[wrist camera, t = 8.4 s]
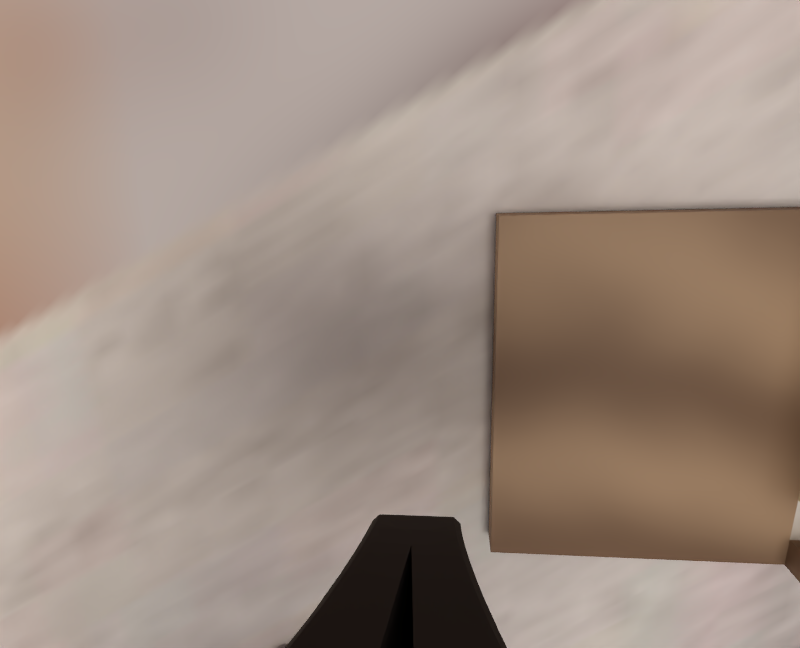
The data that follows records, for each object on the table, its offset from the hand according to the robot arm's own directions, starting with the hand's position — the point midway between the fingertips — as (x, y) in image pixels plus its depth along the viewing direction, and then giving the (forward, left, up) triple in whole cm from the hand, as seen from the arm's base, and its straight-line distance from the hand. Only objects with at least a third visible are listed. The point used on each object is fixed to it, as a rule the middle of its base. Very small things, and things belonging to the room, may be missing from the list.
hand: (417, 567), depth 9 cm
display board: (-1, -11, -10) cm, 15 cm away
